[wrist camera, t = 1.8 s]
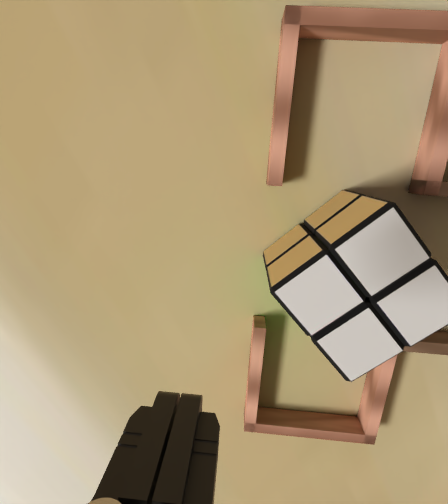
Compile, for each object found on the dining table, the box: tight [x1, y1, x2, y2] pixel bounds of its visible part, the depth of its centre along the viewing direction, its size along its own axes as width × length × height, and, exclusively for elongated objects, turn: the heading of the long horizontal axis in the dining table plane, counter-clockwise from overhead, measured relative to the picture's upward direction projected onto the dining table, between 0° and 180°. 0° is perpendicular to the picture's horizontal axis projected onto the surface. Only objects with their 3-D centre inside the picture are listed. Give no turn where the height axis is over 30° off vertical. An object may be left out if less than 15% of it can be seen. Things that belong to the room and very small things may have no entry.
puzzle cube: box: [263, 190, 448, 382], centre depth 26 cm, size 10×10×10 cm
